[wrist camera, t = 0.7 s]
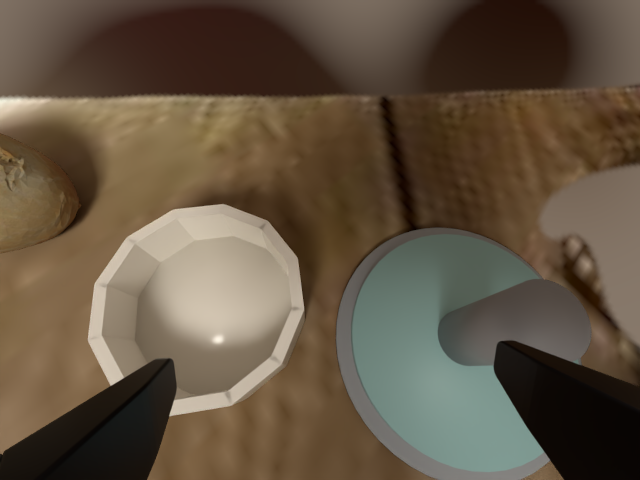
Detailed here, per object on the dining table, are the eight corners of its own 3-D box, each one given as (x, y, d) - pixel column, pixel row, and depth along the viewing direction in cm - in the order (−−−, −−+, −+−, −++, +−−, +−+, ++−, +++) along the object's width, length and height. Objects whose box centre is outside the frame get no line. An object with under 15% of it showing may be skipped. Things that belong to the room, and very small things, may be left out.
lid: (610, 357, 22) (795, 349, 14) (467, 531, 18) (605, 669, 10) (451, 205, 26) (518, 128, 18) (307, 319, 22) (306, 289, 14)
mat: (624, 359, 22) (630, 359, 22) (465, 559, 18) (469, 564, 17) (448, 193, 27) (450, 190, 27) (287, 318, 23) (287, 317, 22)
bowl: (336, 324, 23) (342, 314, 18) (186, 448, 19) (153, 469, 15) (243, 206, 26) (231, 175, 22) (102, 295, 23) (56, 279, 19)
